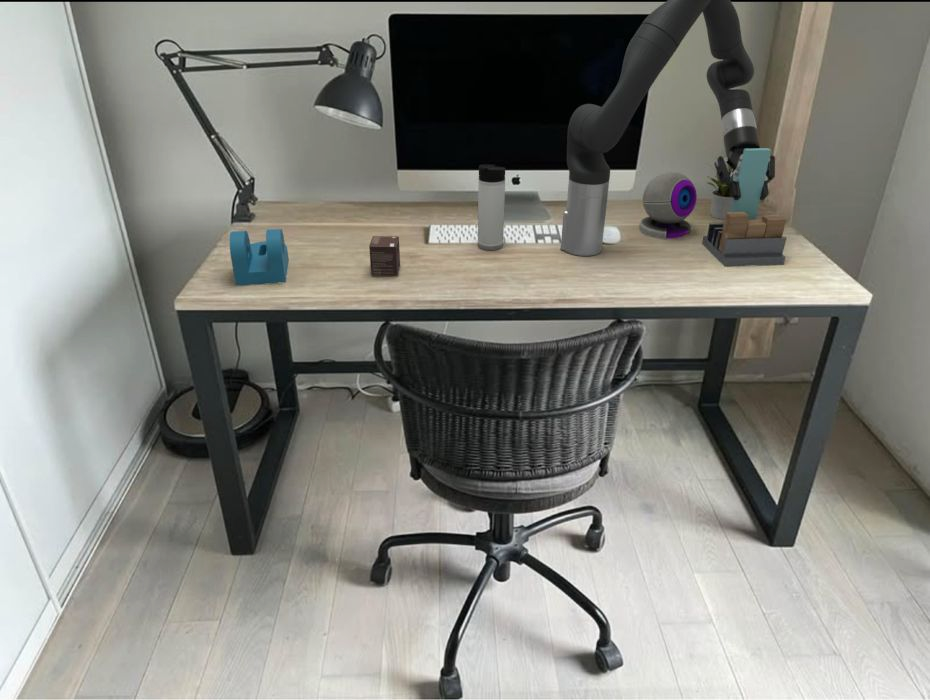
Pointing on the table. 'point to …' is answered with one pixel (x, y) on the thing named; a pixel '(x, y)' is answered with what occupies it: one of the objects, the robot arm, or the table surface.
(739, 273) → the table surface
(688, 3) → the robot arm
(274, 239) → the camera mount
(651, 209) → the webcam
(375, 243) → the box
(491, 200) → the travel mug
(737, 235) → the offcut stack
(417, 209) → the table surface
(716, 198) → the house plant
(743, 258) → the rack
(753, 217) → the tall sheet
